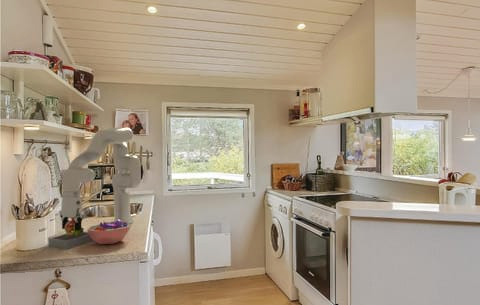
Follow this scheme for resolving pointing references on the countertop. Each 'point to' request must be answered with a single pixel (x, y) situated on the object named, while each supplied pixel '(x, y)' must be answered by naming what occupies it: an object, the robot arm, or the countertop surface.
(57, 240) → the grey picture frame
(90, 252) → the countertop surface
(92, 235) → the cell model
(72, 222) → the bird rattle
